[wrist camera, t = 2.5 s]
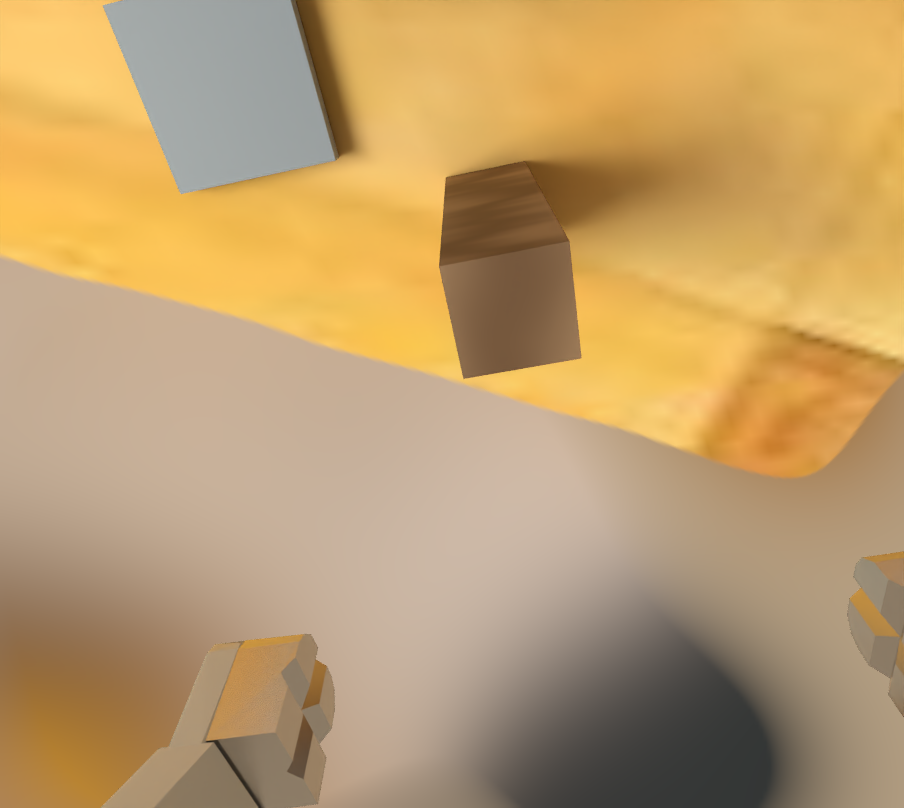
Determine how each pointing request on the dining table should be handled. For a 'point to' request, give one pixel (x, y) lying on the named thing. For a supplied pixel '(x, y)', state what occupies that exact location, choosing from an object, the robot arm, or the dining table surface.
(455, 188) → the brown rectangular block
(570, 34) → the dining table surface
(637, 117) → the dining table surface
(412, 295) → the dining table surface
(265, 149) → the slate pad
